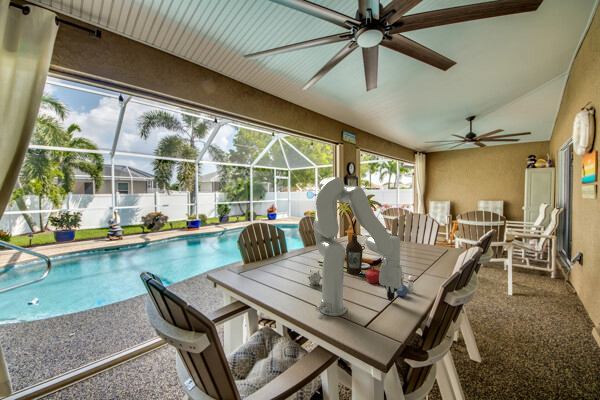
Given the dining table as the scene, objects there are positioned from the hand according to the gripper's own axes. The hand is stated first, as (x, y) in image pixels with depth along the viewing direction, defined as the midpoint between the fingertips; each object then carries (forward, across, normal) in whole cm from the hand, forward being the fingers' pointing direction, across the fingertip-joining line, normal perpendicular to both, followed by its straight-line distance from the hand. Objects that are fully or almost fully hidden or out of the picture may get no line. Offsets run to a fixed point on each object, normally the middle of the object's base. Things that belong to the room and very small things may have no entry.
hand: (390, 299), depth 115 cm
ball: (-2, +1, +11) cm, 11 cm away
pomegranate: (+2, -18, +18) cm, 26 cm away
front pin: (0, 0, +15) cm, 15 cm away
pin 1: (+2, -2, +18) cm, 19 cm away
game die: (+2, -40, -10) cm, 41 cm away
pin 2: (+2, +2, +18) cm, 19 cm away
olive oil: (+2, -35, +23) cm, 42 cm away
